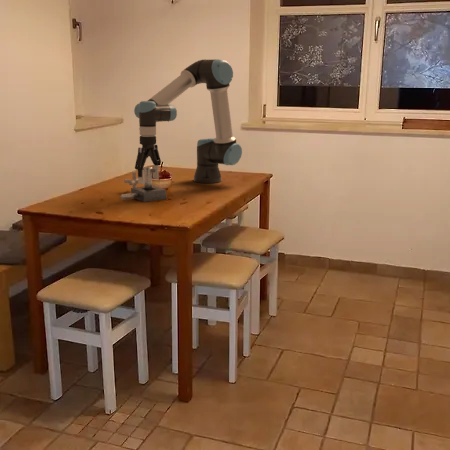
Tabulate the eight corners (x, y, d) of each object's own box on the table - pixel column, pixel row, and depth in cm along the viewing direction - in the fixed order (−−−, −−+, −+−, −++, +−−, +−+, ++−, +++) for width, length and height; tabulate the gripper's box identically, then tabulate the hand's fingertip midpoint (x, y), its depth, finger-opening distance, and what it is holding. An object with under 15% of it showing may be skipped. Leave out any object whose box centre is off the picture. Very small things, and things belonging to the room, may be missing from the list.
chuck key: (158, 196, 278) (157, 167, 275) (154, 198, 275) (153, 168, 272) (143, 195, 281) (142, 166, 278) (139, 196, 278) (138, 167, 275)
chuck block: (153, 194, 287) (153, 185, 285) (166, 199, 277) (166, 189, 276) (115, 199, 275) (115, 189, 274) (128, 204, 266) (128, 194, 264)
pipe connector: (140, 194, 287) (140, 173, 284) (121, 193, 289) (120, 172, 286) (147, 190, 296) (147, 170, 294) (128, 189, 298) (128, 169, 296)
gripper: (153, 132, 284) (154, 176, 289) (126, 137, 261) (127, 185, 267) (167, 133, 281) (168, 177, 286) (141, 138, 258) (142, 186, 264)
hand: (148, 181), depth 276 cm, fingers open, 13 cm apart
